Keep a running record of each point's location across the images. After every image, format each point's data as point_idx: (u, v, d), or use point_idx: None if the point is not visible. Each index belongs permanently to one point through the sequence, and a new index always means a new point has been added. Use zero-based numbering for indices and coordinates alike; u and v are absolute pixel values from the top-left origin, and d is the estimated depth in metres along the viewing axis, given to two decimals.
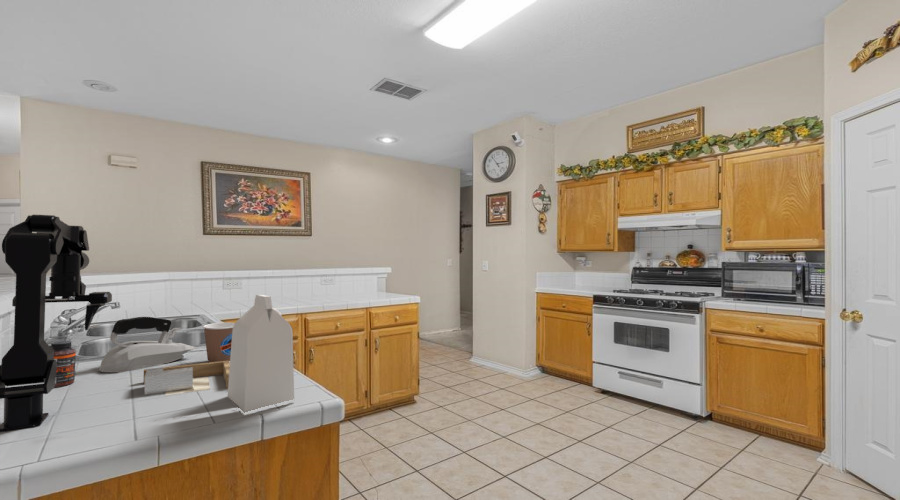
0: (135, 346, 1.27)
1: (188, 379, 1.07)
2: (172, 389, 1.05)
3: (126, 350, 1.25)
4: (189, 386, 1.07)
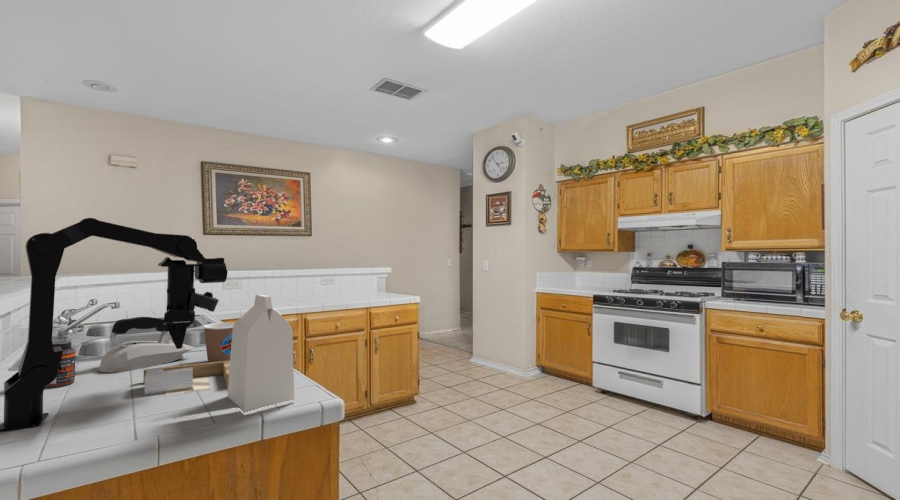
0: (134, 346, 1.27)
1: (188, 379, 1.07)
2: (172, 389, 1.05)
3: (125, 350, 1.26)
4: (189, 386, 1.07)
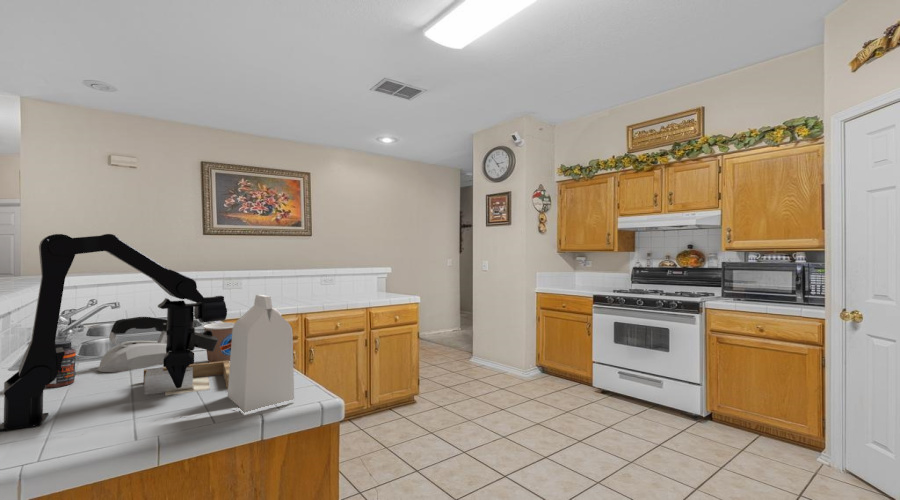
0: (134, 346, 1.27)
1: (188, 379, 1.07)
2: (172, 389, 1.05)
3: (125, 350, 1.26)
4: (189, 386, 1.07)
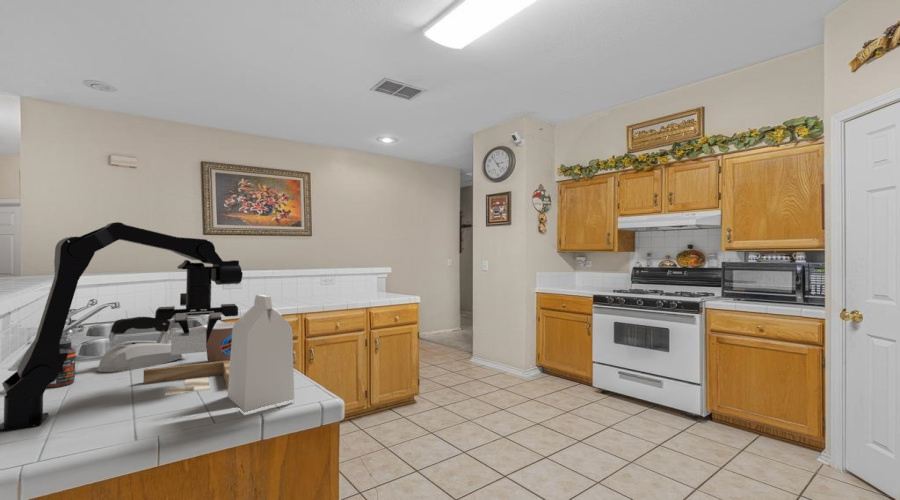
0: (133, 346, 1.28)
1: None
2: None
3: (124, 350, 1.26)
4: None
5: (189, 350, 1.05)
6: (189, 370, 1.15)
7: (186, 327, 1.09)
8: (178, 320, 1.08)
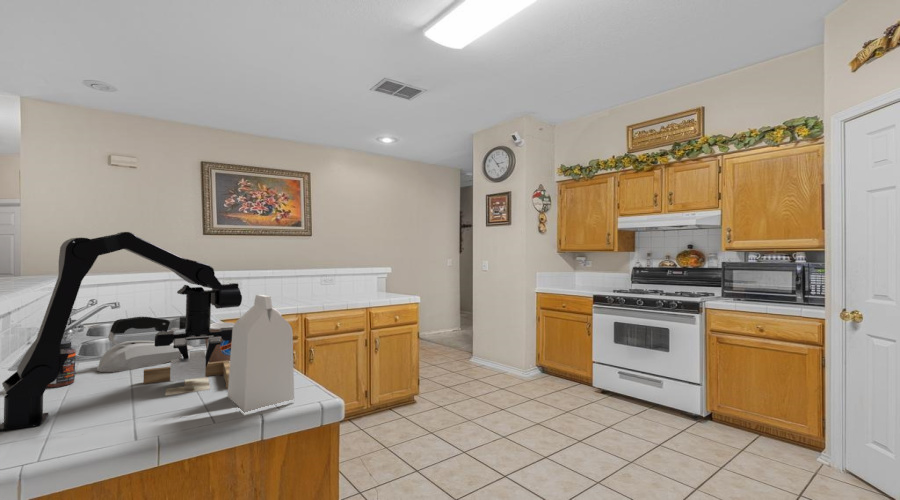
0: (133, 346, 1.28)
1: None
2: None
3: (124, 350, 1.26)
4: None
5: (189, 376, 1.05)
6: None
7: (185, 352, 1.09)
8: (177, 345, 1.08)
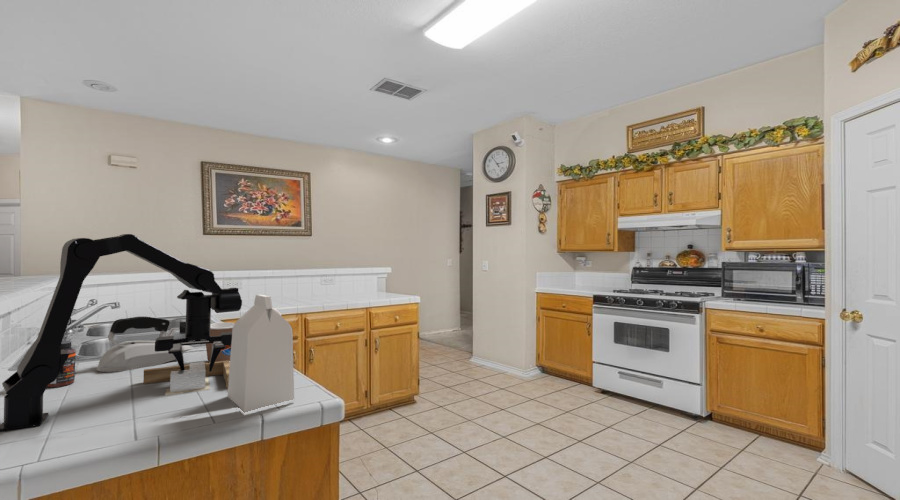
0: (132, 346, 1.28)
1: None
2: None
3: (123, 350, 1.26)
4: None
5: (189, 388, 1.05)
6: None
7: (180, 358, 1.08)
8: (172, 351, 1.07)
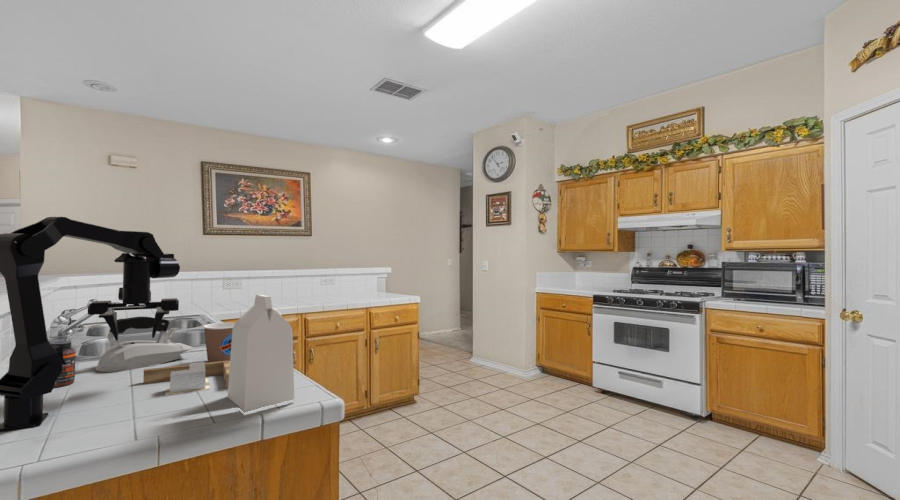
0: (132, 346, 1.28)
1: None
2: None
3: (122, 350, 1.26)
4: None
5: (189, 388, 1.05)
6: None
7: (112, 322, 1.05)
8: (103, 315, 1.04)
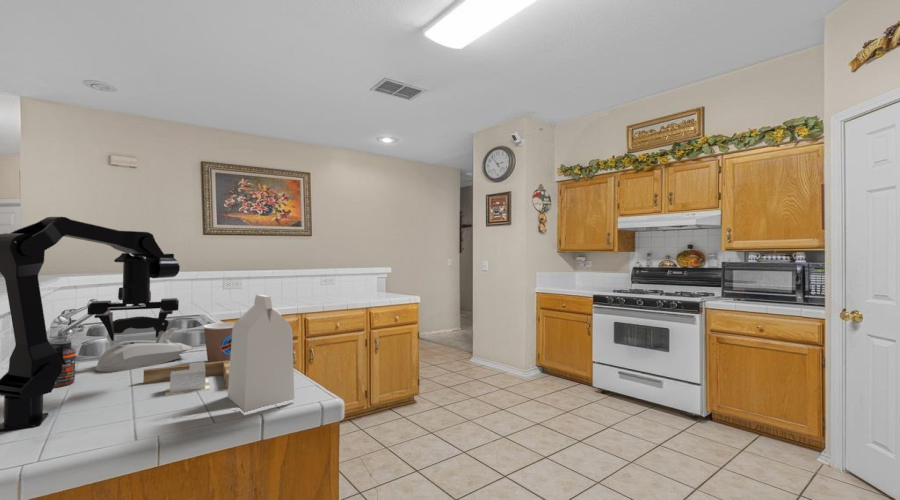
0: (131, 346, 1.28)
1: None
2: None
3: (122, 350, 1.26)
4: None
5: (189, 388, 1.05)
6: None
7: (108, 322, 1.05)
8: (99, 315, 1.04)
